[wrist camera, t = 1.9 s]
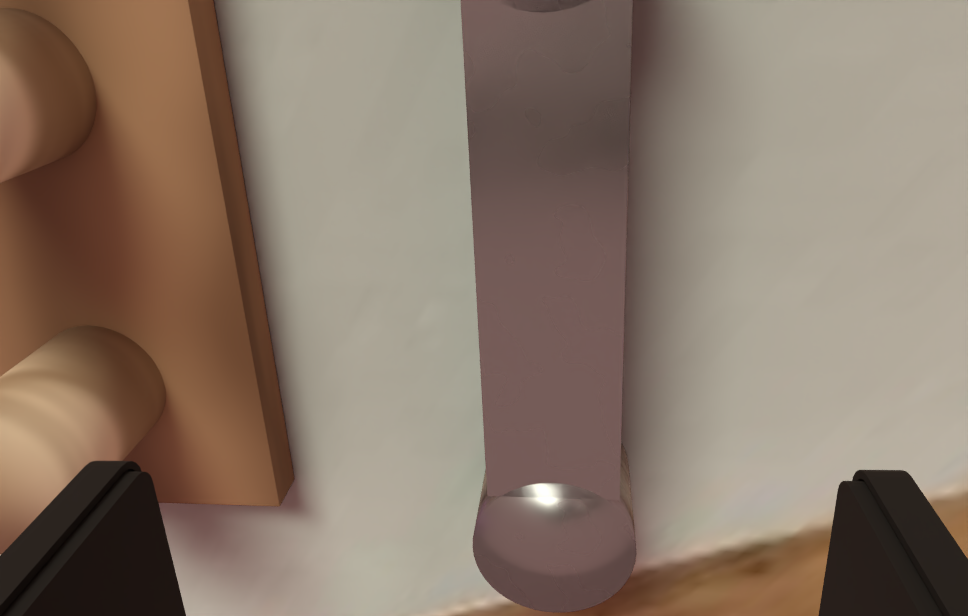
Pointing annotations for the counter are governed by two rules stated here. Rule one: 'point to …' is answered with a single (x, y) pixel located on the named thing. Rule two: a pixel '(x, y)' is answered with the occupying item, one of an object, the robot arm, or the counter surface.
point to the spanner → (551, 293)
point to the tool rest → (128, 262)
